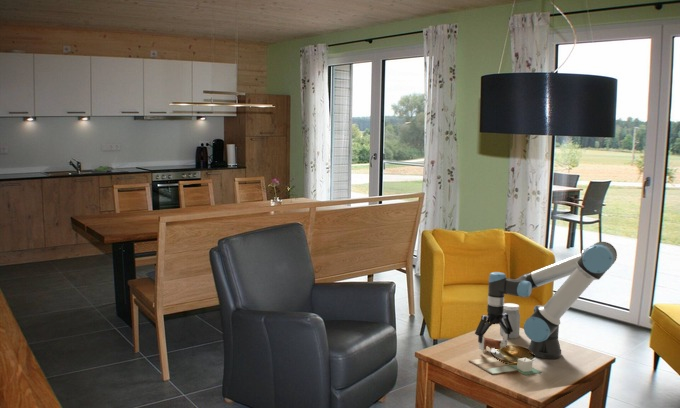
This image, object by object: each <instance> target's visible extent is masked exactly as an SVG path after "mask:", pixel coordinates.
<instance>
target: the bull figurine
mask: <svg viewBox="0 0 680 408" xmlns="http://www.w3.org/2000/svg"><path fill="white" fill-rule="evenodd" d="M505 342H506V341H505V340H503V339H501V338H499V339H494V338H489V337H485V336H484V352H488V350H487V347H488V348H489V349H490V350H491V349H494V350H495V349H500V351H501V350H503V348H507V347H506V344H505Z"/></svg>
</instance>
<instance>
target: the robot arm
mask: <svg viewBox="0 0 680 408" xmlns="http://www.w3.org/2000/svg"><path fill="white" fill-rule="evenodd" d="M617 259H618V253H617V249H616V248H615V246H614V245H612V244H611V243H610V242H607V241H597V242H595V243H593V244H592V245H590V246H589V247H587V248H585V249H582V251H581V252H580V253H578V254H576V255H572V256H570V257H567V258H565V259H562V260H559V261H556V262H555V263H552V264H549V265H547V266H544V267H541V268H538V269H536V270H533V271H531V272H528V273H525V274H522V275H520V276H519V277H518V278H515V279H513V278H510V277H509V278H507V276H506V273H504V272H502V271H501V272H500V271H493V272H490V273H489V275H488V276H489V278H488V288H487V289H488V291H487V292H488V293H487V306H486V307H487V308H486V312H487V314H486V315H485V314H481V319H480V321H479V323H478V324H477V328H476V329H475V331H474V335H476V336H478V339H477V341H478V349H479V350H481V351H485V349H484V337H485V336H484V335H485V334H486V333H487V331H488V329H490V327H492V325H499V326H501V327H502V329H503V330H504V332H505V333H503V336H502V340H505V341H506V342H505V344H506V346H507V347H508V342H509V339H510V338H509V334H511V332H513V330H512V327H511V324H510V322H509V319H508V314H506V313H503V310H504V306H503V305H504V303H505V295H508V296H509V295H510V296H515V297H521V298H529V297H531V294H532V291H533V290H534V289H536V288H539V287H541V286H544V285H546V284H549V283H552V282H555V281H558V280H561V279H563V278H566V277H567V279H566V280H565V281H564V282H563V284H561V286H559V288H558V289H557V290H556V291H555V292H554V294H553V295H552V296H551V297H550V298H549V300H548V301H547V302H546V303H545V304H544V305H537V304H536V305H535V306H534V307H533V313H531V315H530V316H529V317H528V318H527V319H526V320H525V322H524V324H523V331H524V334H525V335H526V336H527V338H528V339H529V340H530V343H529V345H528V347H527V349H529V350H530V351H532V352H533V353H534V354H535V356H534V357H537V358H540V359H558V358H559V359H560V358H561V357H562V349H561V345H560V342H559V341H560V340H559V333H560V332H559V328H560V325H561V318H562V317H563V316H564V315H565V313H567V311H568V310H569V309H570V308H571V307H572V305H573V304H574V303H575V302H576V301H578V299H579V298H580V296H581V295H582V294H583V293H584V292H585V291H586V290H587V288H589V286H590V285H591V284H592V282H593V281H598V280H600V279H601V278H602V277H603V276H604V275H605V273H606V272H607V271H608V270H609V269H610V268H611V267H612V266H613V264H615V263H616V261H617ZM502 318H503V319H504V322H505V324H506V326H505V325H504V323H503V321H502Z"/></svg>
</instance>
